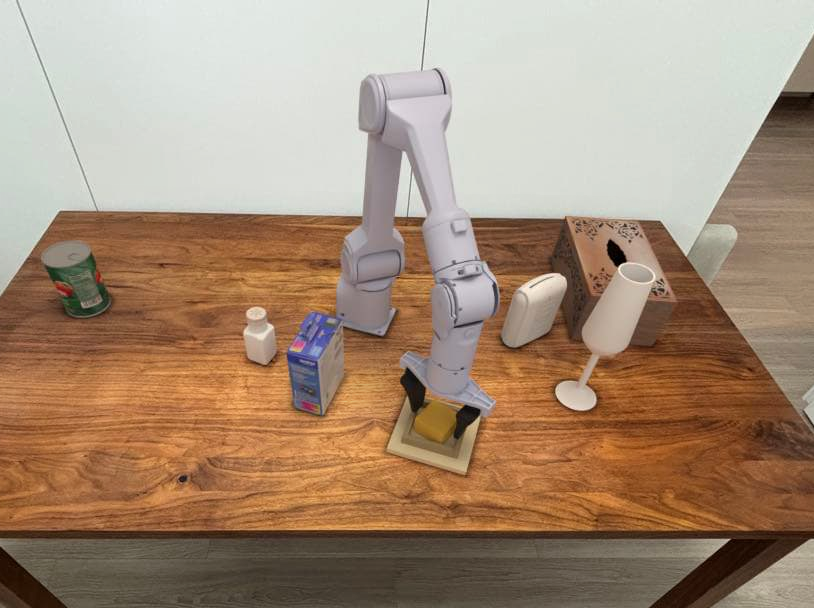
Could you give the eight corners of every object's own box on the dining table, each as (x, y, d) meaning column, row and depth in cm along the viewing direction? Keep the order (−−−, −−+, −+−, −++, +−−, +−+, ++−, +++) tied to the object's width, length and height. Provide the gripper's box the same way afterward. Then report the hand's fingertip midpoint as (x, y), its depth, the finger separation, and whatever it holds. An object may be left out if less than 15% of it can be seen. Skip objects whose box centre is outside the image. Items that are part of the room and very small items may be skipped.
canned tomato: (56, 311, 98) (29, 259, 90) (86, 287, 103) (63, 236, 94) (91, 322, 96) (67, 271, 88) (120, 297, 101) (100, 246, 93)
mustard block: (412, 430, 81) (414, 417, 79) (431, 411, 84) (434, 398, 81) (440, 447, 79) (443, 435, 77) (458, 428, 82) (461, 415, 79)
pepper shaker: (278, 352, 93) (273, 309, 85) (266, 367, 90) (260, 324, 83) (259, 345, 94) (252, 302, 86) (246, 359, 91) (238, 316, 84)
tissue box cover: (651, 346, 97) (677, 302, 89) (571, 340, 97) (590, 295, 90) (618, 263, 114) (638, 221, 106) (550, 258, 114) (565, 215, 107)
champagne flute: (574, 416, 85) (637, 294, 67) (546, 388, 89) (599, 265, 71) (605, 402, 88) (674, 280, 69) (577, 375, 91) (635, 253, 73)
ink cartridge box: (314, 366, 91) (311, 297, 80) (345, 374, 90) (345, 305, 79) (290, 407, 85) (283, 339, 74) (323, 417, 84) (320, 348, 73)
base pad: (386, 452, 80) (387, 442, 78) (408, 395, 87) (409, 385, 85) (465, 475, 77) (468, 465, 75) (480, 415, 85) (484, 405, 83)
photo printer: (536, 319, 101) (556, 263, 92) (553, 332, 99) (575, 275, 89) (496, 338, 97) (512, 281, 88) (512, 352, 95) (531, 295, 85)
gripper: (516, 365, 69) (493, 430, 79) (424, 316, 75) (414, 382, 85) (487, 395, 65) (467, 460, 75) (393, 341, 71) (386, 408, 81)
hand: (437, 421), depth 80 cm, fingers open, 7 cm apart
